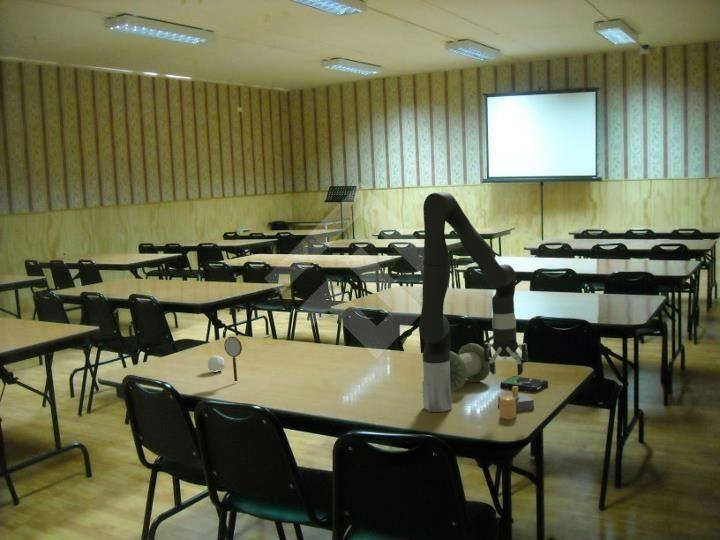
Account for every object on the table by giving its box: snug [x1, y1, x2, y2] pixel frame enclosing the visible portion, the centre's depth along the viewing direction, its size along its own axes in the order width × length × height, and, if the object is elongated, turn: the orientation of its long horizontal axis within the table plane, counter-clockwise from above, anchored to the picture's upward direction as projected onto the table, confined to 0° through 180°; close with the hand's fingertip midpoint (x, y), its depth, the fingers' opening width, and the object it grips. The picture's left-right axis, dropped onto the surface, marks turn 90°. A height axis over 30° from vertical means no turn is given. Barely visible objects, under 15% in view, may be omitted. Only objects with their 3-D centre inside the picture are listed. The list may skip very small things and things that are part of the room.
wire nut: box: [498, 397, 517, 420], centre depth 247 cm, size 5×5×6 cm
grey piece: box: [497, 386, 535, 412], centre depth 257 cm, size 9×9×7 cm
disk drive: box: [499, 375, 549, 394], centre depth 280 cm, size 10×3×15 cm
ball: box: [207, 355, 226, 371], centre depth 333 cm, size 8×8×8 cm
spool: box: [449, 342, 491, 392], centre depth 287 cm, size 16×15×15 cm
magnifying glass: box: [224, 336, 243, 382], centre depth 311 cm, size 9×2×20 cm, turn 62°
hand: (506, 374), depth 245 cm, fingers open, 8 cm apart
